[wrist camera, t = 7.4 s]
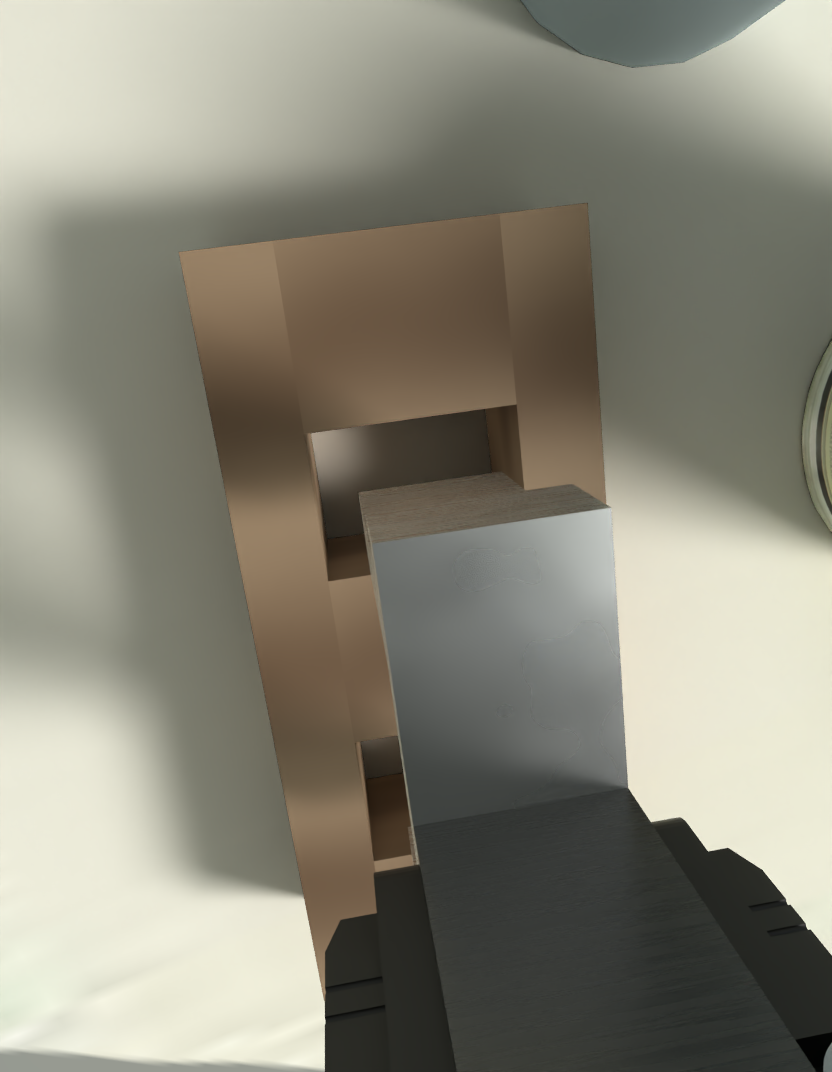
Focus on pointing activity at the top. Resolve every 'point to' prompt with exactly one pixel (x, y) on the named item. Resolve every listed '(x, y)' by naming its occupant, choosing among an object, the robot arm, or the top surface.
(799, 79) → the top surface
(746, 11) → the spray bottle
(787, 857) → the top surface
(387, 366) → the wooden block with holes
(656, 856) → the clip
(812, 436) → the coffee can
